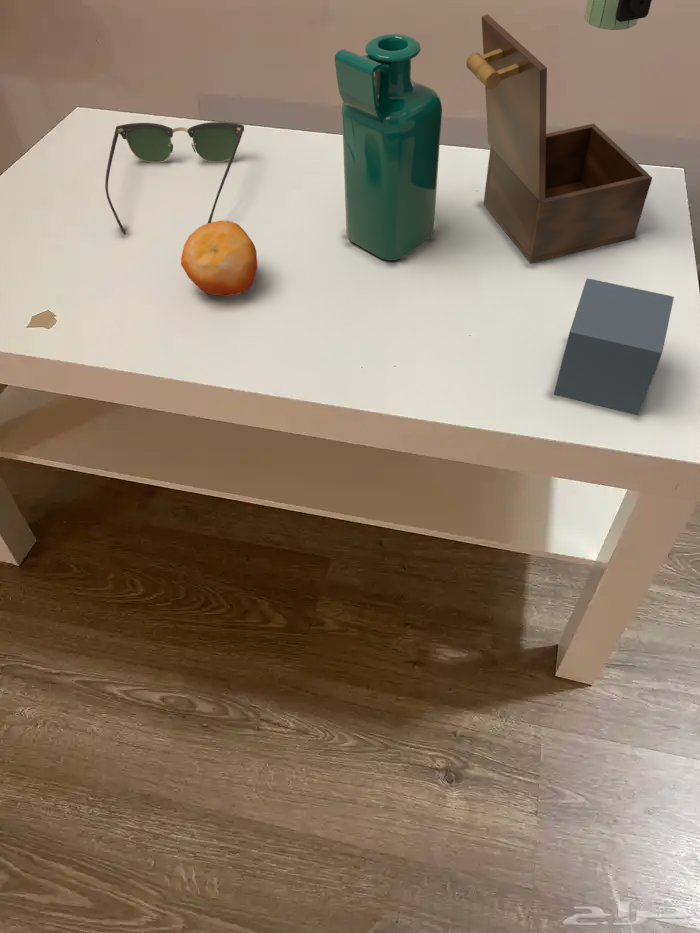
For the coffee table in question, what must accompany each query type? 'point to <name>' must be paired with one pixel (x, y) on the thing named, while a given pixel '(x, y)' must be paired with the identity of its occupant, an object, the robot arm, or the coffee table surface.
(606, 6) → the cup
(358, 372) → the coffee table surface
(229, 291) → the fruit
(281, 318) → the coffee table surface
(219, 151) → the sunglasses
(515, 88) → the lid
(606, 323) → the slate grey cube
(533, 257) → the chest
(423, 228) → the green bottle
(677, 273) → the coffee table surface
